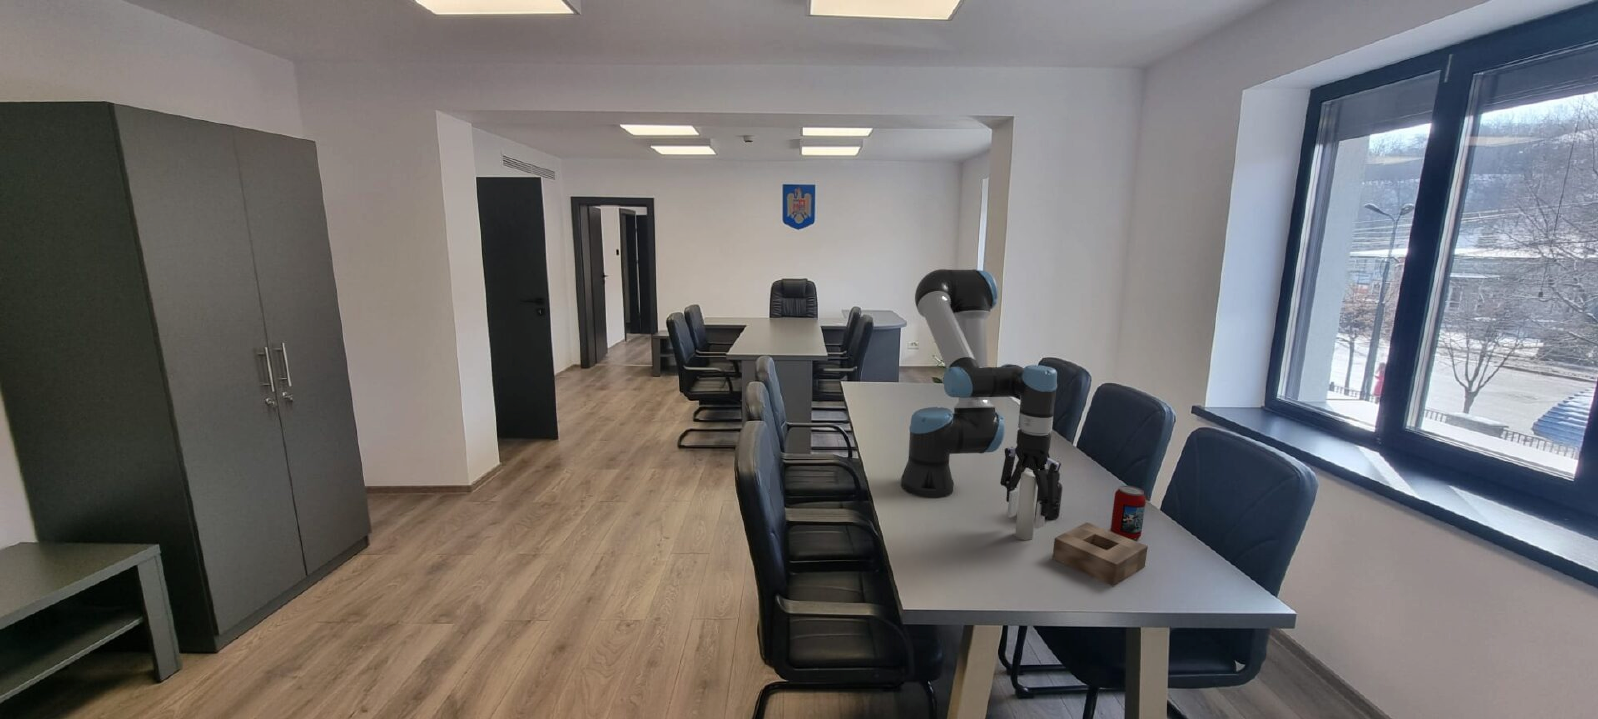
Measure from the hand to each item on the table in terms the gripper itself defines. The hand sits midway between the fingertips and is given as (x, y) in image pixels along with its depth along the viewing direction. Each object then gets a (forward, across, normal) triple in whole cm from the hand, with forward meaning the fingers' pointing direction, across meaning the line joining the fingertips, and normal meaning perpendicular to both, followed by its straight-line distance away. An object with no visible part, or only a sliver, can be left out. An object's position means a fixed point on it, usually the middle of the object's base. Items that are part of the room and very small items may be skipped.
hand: (1025, 520), depth 147 cm
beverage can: (+4, +14, +22) cm, 26 cm away
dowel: (+4, 0, 0) cm, 4 cm away
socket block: (+4, +17, +3) cm, 18 cm away
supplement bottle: (+4, -4, +16) cm, 17 cm away
